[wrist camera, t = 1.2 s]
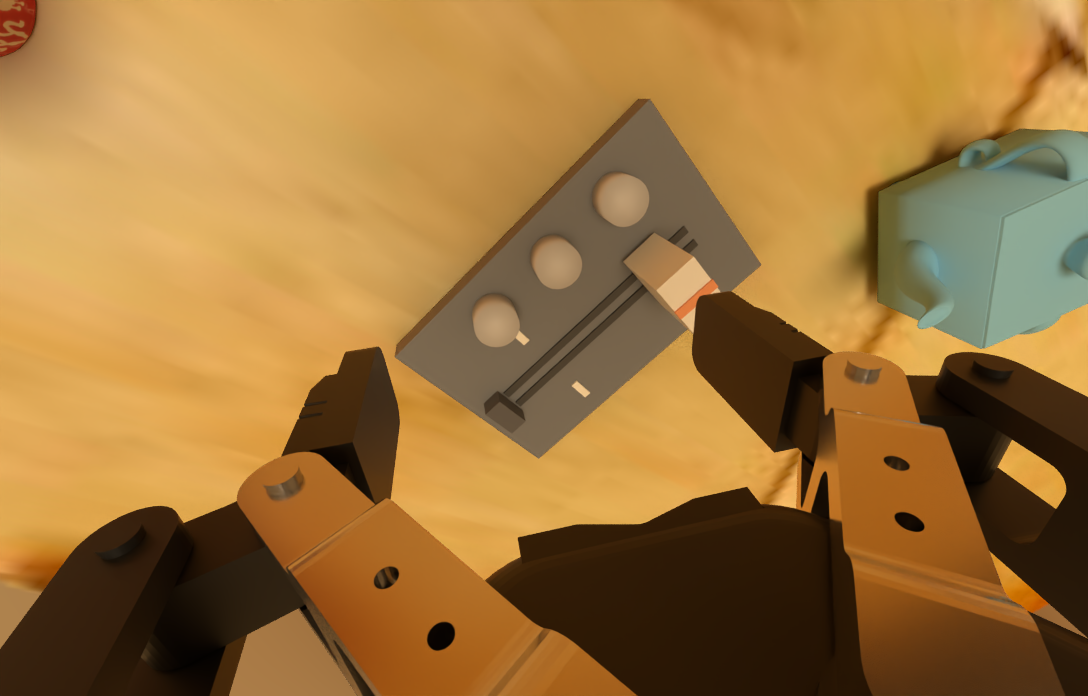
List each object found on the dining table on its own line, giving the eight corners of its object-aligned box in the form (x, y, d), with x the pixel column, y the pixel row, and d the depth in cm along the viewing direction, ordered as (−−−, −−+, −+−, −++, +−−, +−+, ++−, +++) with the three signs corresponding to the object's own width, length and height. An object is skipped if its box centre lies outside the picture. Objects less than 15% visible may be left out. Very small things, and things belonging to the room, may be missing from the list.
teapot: (1003, 94, 37) (1249, 90, 26) (980, 266, 45) (1160, 321, 33) (795, 186, 37) (950, 223, 26) (808, 342, 45) (931, 422, 34)
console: (638, 99, 32) (665, 98, 28) (747, 257, 39) (780, 274, 35) (396, 344, 36) (392, 373, 33) (534, 444, 44) (543, 477, 40)
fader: (654, 231, 34) (695, 256, 28) (690, 277, 36) (734, 307, 31) (622, 262, 34) (656, 291, 29) (660, 304, 37) (697, 339, 31)
